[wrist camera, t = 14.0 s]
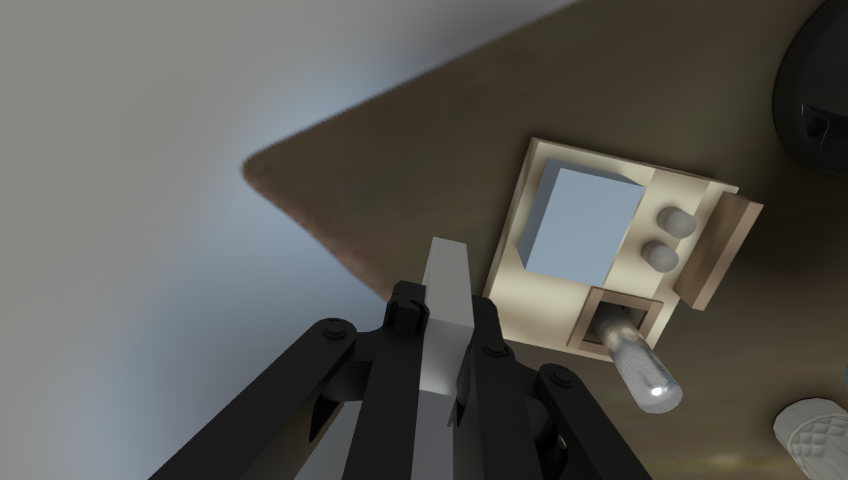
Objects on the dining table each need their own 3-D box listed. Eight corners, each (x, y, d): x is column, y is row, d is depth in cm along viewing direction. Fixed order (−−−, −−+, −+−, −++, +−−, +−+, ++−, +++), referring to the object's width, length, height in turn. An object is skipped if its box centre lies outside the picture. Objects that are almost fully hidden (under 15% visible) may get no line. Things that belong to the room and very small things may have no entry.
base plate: (531, 136, 33) (548, 147, 28) (715, 178, 33) (767, 198, 28) (475, 315, 40) (479, 353, 34) (629, 348, 40) (657, 391, 35)
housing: (548, 157, 31) (560, 167, 27) (622, 175, 31) (645, 187, 27) (517, 250, 34) (524, 270, 30) (585, 265, 34) (601, 287, 30)
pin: (590, 289, 38) (648, 375, 27) (620, 296, 38) (690, 385, 27) (579, 315, 39) (629, 408, 28) (608, 322, 39) (670, 417, 28)
